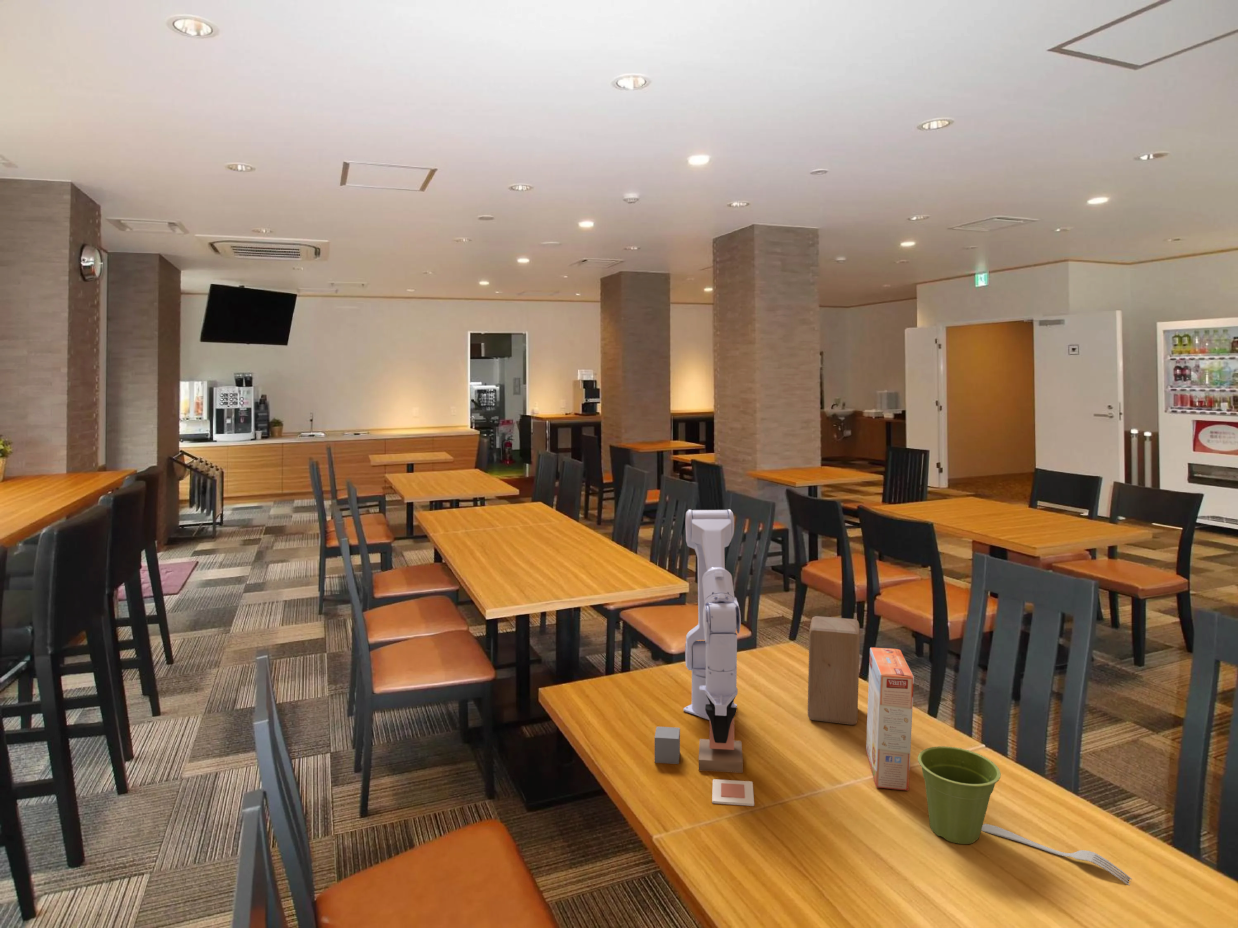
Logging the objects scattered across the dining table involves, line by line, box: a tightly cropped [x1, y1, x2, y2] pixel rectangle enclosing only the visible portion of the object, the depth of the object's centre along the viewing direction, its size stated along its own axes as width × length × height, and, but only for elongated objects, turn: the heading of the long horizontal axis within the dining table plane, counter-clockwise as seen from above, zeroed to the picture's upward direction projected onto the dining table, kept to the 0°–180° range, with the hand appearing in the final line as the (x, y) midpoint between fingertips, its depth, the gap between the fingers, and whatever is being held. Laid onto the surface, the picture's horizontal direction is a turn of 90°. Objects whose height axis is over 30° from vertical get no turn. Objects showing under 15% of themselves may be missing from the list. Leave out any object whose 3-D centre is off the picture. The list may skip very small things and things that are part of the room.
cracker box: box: [865, 647, 915, 791], centre depth 136 cm, size 14×6×21 cm, turn 168°
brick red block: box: [709, 717, 735, 750], centre depth 141 cm, size 4×4×5 cm
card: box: [711, 778, 755, 807], centre depth 130 cm, size 7×7×1 cm
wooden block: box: [807, 615, 861, 726], centre depth 159 cm, size 10×10×20 cm
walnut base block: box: [698, 738, 744, 774], centre depth 141 cm, size 8×8×2 cm
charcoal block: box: [654, 726, 681, 765], centre depth 143 cm, size 4×4×5 cm
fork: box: [981, 823, 1133, 886], centre depth 113 cm, size 3×21×3 cm, turn 47°
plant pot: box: [917, 745, 1002, 845], centre depth 118 cm, size 12×12×11 cm
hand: (720, 735), depth 141 cm, fingers closed on brick red block, 4 cm apart
